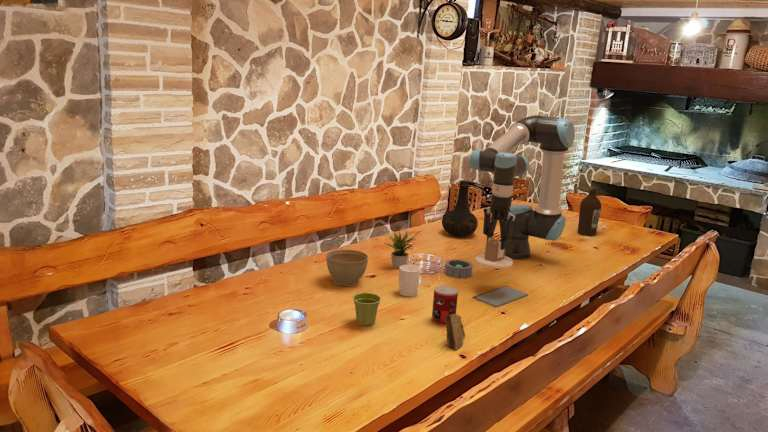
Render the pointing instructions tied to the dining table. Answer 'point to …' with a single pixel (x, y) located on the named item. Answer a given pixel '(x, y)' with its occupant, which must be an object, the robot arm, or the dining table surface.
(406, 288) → the white cup
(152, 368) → the dining table surface
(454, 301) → the canned food
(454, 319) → the rock
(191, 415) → the dining table surface
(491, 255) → the lid
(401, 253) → the house plant
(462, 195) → the black vase
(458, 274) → the bowl
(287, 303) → the dining table surface
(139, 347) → the dining table surface
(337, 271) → the planter bowl
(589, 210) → the olive oil
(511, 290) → the mat
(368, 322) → the plant pot
